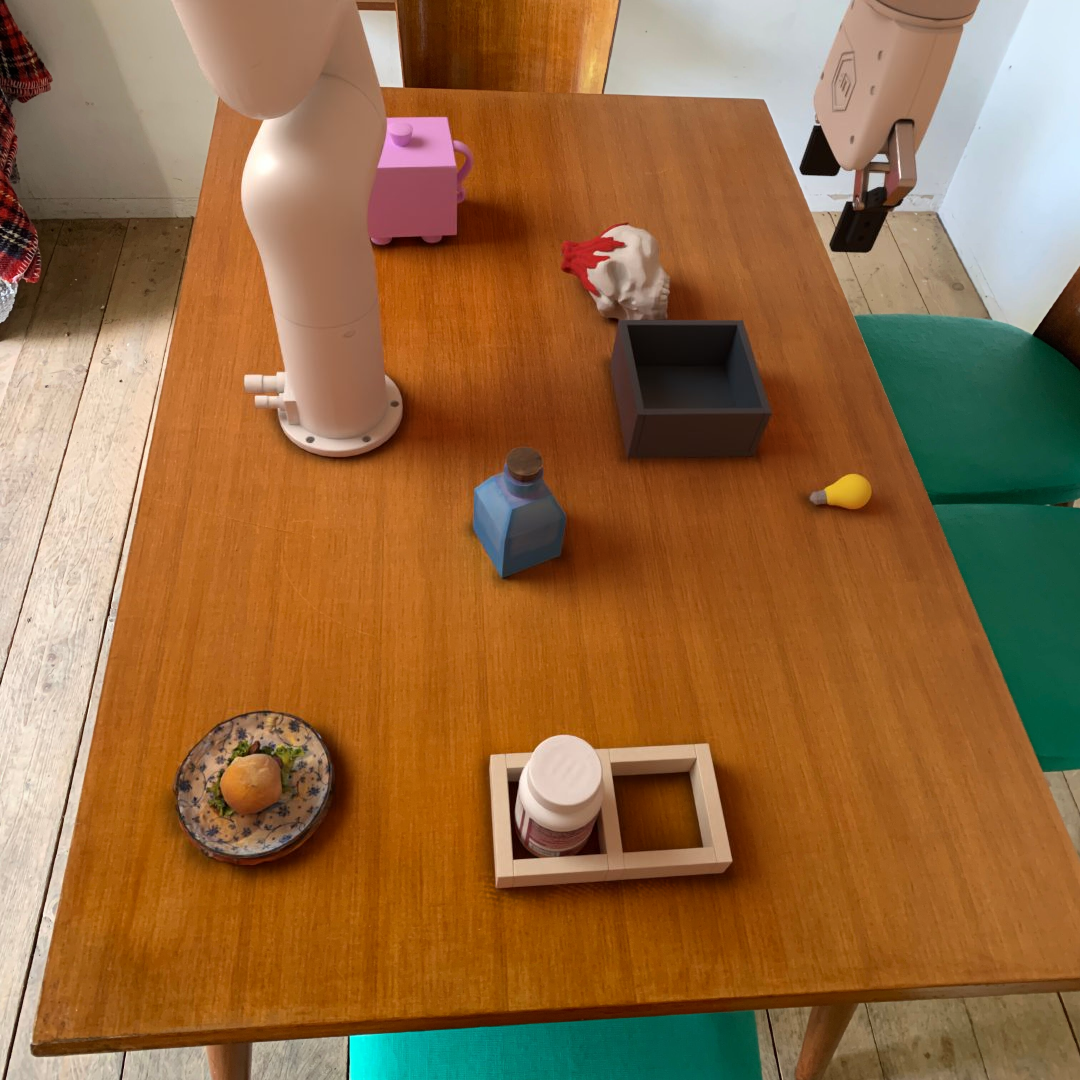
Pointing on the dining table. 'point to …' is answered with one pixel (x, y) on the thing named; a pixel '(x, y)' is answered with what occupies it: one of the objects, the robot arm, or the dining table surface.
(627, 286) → the candle
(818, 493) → the light bulb
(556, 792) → the pill bottle
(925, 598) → the dining table surface
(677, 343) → the dark grey open box
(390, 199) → the teapot
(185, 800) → the burger
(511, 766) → the frame
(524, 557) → the perfume bottle
